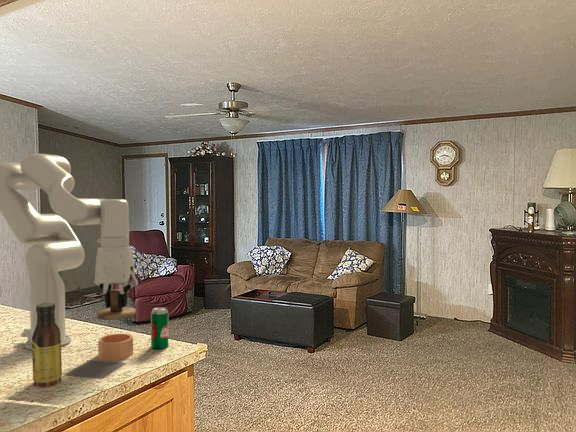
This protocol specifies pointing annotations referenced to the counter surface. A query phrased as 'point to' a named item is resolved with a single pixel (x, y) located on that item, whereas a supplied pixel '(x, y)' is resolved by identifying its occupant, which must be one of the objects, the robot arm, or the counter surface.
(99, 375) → the mat
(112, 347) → the bowl
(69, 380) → the counter surface
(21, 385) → the counter surface
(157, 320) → the soda can
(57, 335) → the sauce bottle
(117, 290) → the lid
